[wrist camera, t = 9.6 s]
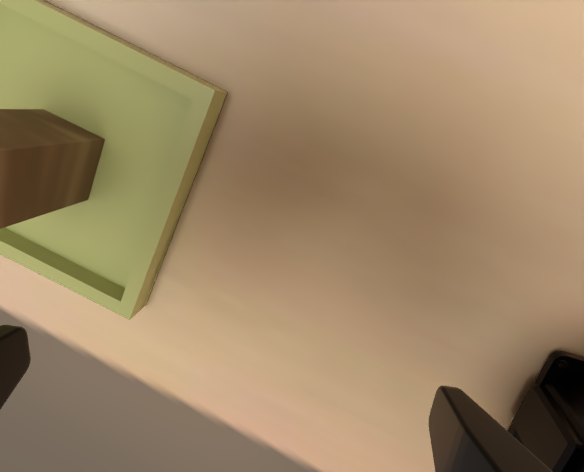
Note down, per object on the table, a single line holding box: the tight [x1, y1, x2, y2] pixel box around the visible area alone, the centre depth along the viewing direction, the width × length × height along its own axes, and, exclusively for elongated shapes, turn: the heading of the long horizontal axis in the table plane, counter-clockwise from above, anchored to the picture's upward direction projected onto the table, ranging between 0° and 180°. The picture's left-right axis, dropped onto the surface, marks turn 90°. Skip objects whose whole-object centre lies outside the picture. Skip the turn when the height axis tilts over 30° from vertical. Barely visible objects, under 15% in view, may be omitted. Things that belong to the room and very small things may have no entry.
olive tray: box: [0, 0, 227, 320], centre depth 21 cm, size 13×13×2 cm
